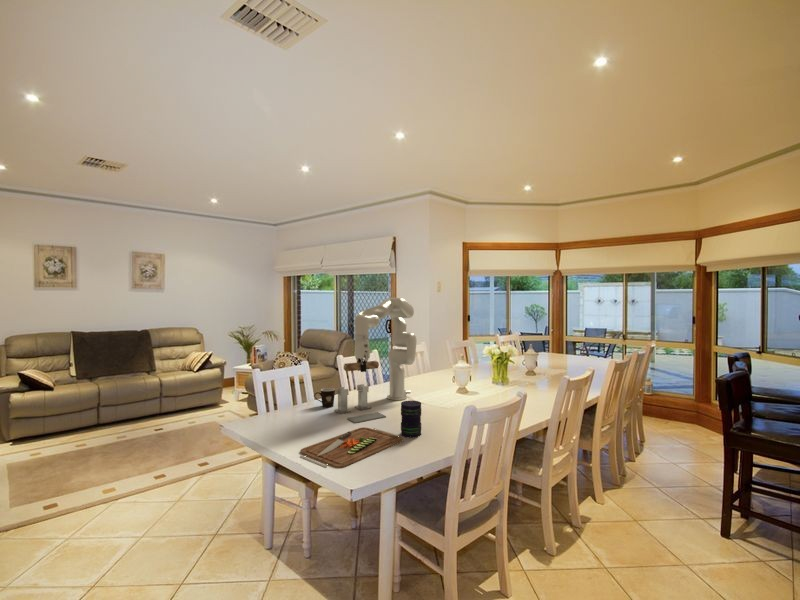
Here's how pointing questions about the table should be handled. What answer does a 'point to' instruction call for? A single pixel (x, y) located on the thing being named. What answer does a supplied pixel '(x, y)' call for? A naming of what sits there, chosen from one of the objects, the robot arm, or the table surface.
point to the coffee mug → (327, 397)
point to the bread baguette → (358, 366)
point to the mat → (366, 417)
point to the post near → (342, 400)
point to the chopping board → (350, 447)
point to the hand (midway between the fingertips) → (361, 370)
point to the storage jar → (411, 419)
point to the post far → (362, 397)
